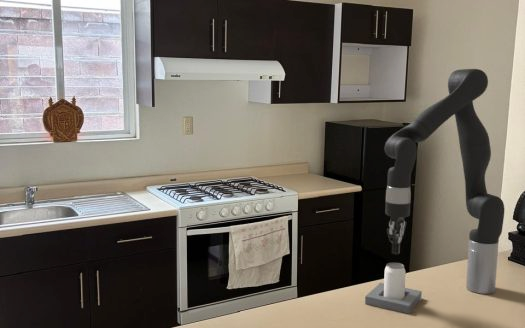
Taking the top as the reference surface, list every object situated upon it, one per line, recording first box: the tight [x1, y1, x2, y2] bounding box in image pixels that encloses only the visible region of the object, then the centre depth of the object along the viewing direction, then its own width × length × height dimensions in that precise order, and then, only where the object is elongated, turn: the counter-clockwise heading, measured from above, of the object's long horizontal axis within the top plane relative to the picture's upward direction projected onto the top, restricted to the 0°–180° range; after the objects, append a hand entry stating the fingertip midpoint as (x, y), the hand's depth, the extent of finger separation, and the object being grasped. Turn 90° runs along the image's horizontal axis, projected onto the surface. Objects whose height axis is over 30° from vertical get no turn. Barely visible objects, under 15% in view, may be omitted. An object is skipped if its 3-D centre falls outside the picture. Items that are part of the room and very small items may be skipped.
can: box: [383, 262, 406, 300], centre depth 170 cm, size 6×6×12 cm
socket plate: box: [364, 282, 423, 315], centre depth 171 cm, size 14×14×2 cm
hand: (395, 253), depth 169 cm, fingers closed
